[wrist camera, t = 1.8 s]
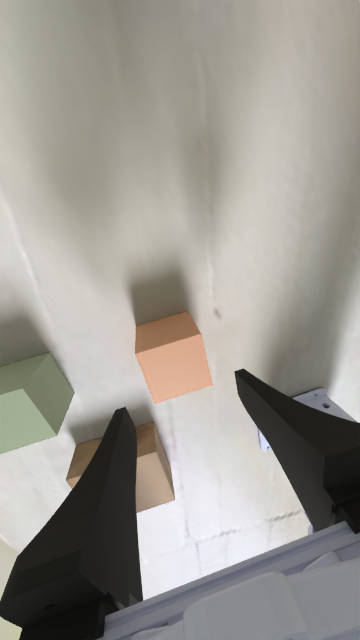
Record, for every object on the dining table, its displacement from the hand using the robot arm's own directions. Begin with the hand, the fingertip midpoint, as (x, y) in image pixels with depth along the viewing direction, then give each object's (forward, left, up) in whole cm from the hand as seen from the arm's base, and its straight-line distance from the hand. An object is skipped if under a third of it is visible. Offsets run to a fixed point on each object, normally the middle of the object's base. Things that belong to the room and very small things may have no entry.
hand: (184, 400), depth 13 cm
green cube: (+13, 0, -8) cm, 15 cm away
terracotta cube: (0, 0, -8) cm, 8 cm away
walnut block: (+9, +14, -9) cm, 19 cm away
